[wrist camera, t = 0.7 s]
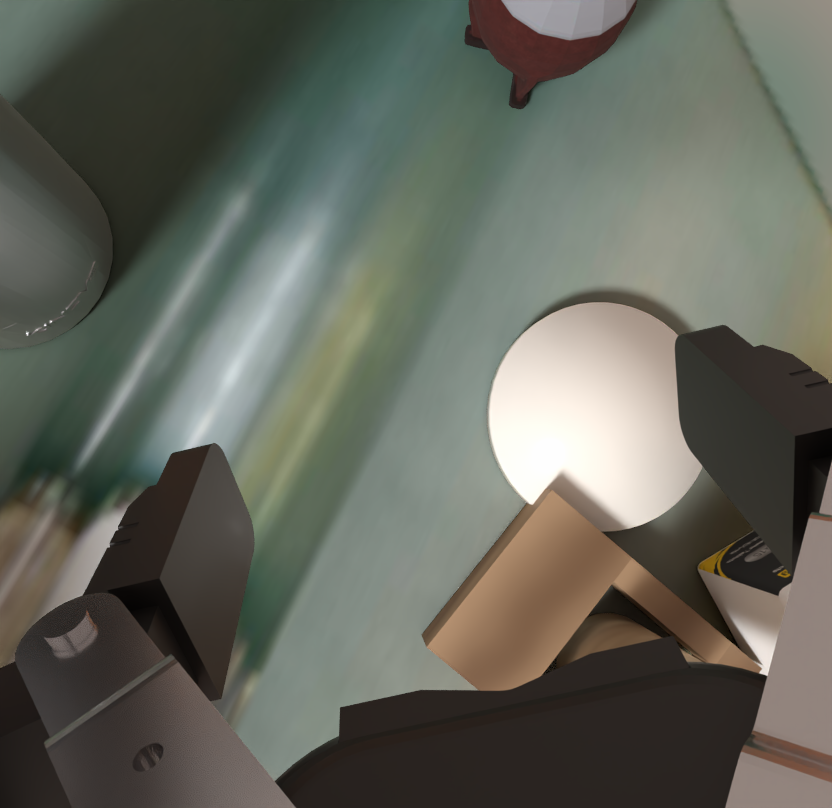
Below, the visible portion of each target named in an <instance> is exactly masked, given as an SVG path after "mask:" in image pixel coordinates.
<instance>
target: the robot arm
mask: <svg viewBox="0 0 832 808" xmlns="http://www.w3.org/2000/svg"><path fill="white" fill-rule="evenodd" d="M112 260H113V237H112V233H111V229H110V225H109V221H108V217H107V215H106V213H105V211H104V209H103V207H102V205H101V203H100V201H99V199H98V197H97V196H96V195H95V194H94V192H93V191H92V190H91V189H90V187H89V186H88V185H87V184H86V182H85V181H84V180H83V179H82V178H81V177H80V176H79V175H78V174H77V173H76V172H75V171H74V170H73V169H72V168H71V167H70V166H69V165H68V164H67V163H66V162H65V161H64V160H63V159H62V158H61V156H60V155H59V154H58V153H57V152H56V151H55V150H54V149H53V148H52V147H51V146H50V145H49V144H48V142H47V141H46V140H45V139H44V138H43V137H42V136H41V135H40V134H39V133H38V132H37V131H36V130H35V129H34V128H33V127H32V126H31V125H30V124H29V123H28V122H27V121H26V120H25V119H24V118H23V117H22V116H21V115H20V114H19V113H18V112H17V111H16V110H15V109H14V108H13V106H12V105H11V104H10V103H9V102H8V101H7V100H6V99H5V98H4V97H3V96H2V95H1V94H0V349H14V348H23V347H31V346H34V345H37V344H40V343H43V342H46V341H49V340H52V339H54V338H56V337H57V336H59V335H61V334H63V333H65V332H66V331H68V330H70V329H71V328H73V327H74V326H75V325H76V324H77V323H78V322H79V321H81V320H82V319H83V318H84V317H85V316H86V315H87V314H88V313H89V312H90V310H91V309H92V308H93V306H94V305H95V304H96V302H97V301H98V300H99V298H100V296H101V294H102V292H103V290H104V288H105V285H106V283H107V281H108V279H109V274H110V269H111V265H112ZM675 363H676V379H677V395H678V410H679V421H680V426H681V430H682V433H683V436H684V439H685V442H686V444H687V446H688V448H689V449H690V451H691V452H692V454H693V455H694V456H695V457H696V458H697V460H698V461H699V462H700V463H701V465H702V466H703V467H704V468H705V470H706V471H707V472H708V473H709V475H710V476H711V477H712V478H713V480H714V481H715V482H716V483H717V485H718V486H719V487H720V488H721V490H722V491H723V492H724V493H725V494H726V496H727V497H728V498H729V499H730V501H731V502H732V503H733V504H734V506H735V507H736V508H737V509H738V511H739V512H740V513H741V514H742V516H743V517H744V518H745V519H746V521H747V522H748V523H749V524H750V525H751V527H752V528H753V529H754V530H755V532H756V533H757V534H758V535H759V537H760V538H761V539H762V540H763V542H764V543H765V544H766V545H767V547H768V548H769V549H770V550H771V552H772V553H773V554H774V555H775V557H776V558H777V559H778V560H779V561H780V563H781V564H782V565H783V566H784V568H785V569H786V570H787V571H788V573H789V574H790V575H791V576H793V580H792V584H791V588H790V592H789V595H788V599H787V603H786V607H785V611H784V615H783V618H782V622H781V626H780V630H779V634H778V638H777V641H776V645H775V649H774V653H773V657H772V661H771V664H770V668H769V672H768V676H766V675H763V674H760V673H756V672H753V671H750V670H746V669H743V668H738V667H733V666H728V665H723V664H715V663H706V662H687V661H686V659H685V657H684V655H683V653H682V652H681V650H680V648H679V646H678V644H677V642H676V640H675V638H674V636H669V637H665V638H660V639H655V640H651V641H646V642H641V643H637V644H632V645H628V646H623V647H618V648H614V649H609V650H604V651H600V652H595V653H590V654H588V655H586V656H584V657H582V658H579V659H577V660H575V661H573V662H571V663H569V664H566V665H564V666H562V667H560V668H558V669H555V670H553V671H551V672H549V673H547V674H545V675H542V676H540V677H538V678H536V679H534V680H532V681H529V682H527V683H525V684H523V685H521V686H518V687H516V688H513V689H509V690H502V691H472V690H419V691H414V692H410V693H405V694H401V695H396V696H391V697H387V698H382V699H377V700H373V701H368V702H364V703H359V704H354V705H350V706H345V707H340V728H339V736H338V737H336V738H334V739H332V740H330V741H328V742H326V743H325V744H323V745H321V746H320V747H318V748H316V749H315V750H313V751H311V752H310V753H308V754H307V755H306V756H304V757H303V758H302V759H300V760H299V761H297V762H296V763H295V764H293V765H292V766H291V767H290V768H289V769H288V770H287V771H286V772H284V773H283V774H282V775H281V776H280V777H279V778H278V779H277V780H276V781H274V780H273V779H272V778H271V776H270V775H269V774H268V773H267V771H266V770H265V769H264V768H263V766H262V765H261V764H260V763H259V762H258V760H257V759H256V758H255V757H254V755H253V754H252V753H251V752H250V750H249V749H248V748H247V747H246V745H245V744H244V743H243V742H242V740H241V739H240V738H239V737H238V735H237V734H236V733H235V732H234V731H233V729H232V728H231V727H230V726H229V724H228V723H227V722H226V721H225V719H224V718H223V717H222V716H221V714H220V713H219V712H218V711H217V709H216V708H215V707H214V706H213V704H212V703H211V702H210V701H213V700H218V699H221V698H222V693H223V689H224V684H225V680H226V675H227V670H228V666H229V661H230V657H231V652H232V648H233V643H234V638H235V634H236V629H237V625H238V620H239V616H240V611H241V606H242V602H243V597H244V593H245V588H246V584H247V579H248V574H249V570H250V565H251V561H252V556H253V552H254V531H253V525H252V521H251V518H250V515H249V512H248V510H247V507H246V505H245V503H244V500H243V498H242V495H241V493H240V491H239V488H238V486H237V483H236V481H235V478H234V476H233V474H232V471H231V469H230V466H229V464H228V462H227V459H226V457H225V455H224V453H223V451H222V449H221V448H220V446H219V445H217V444H215V443H213V444H209V445H204V446H200V447H196V448H192V449H187V450H183V451H179V452H175V453H172V454H171V456H170V458H169V460H168V462H167V464H166V466H165V468H164V470H163V473H162V475H161V477H160V479H159V481H158V483H157V485H154V486H150V487H148V488H147V489H146V490H145V491H144V492H143V493H142V494H141V495H140V496H139V497H138V498H137V499H136V500H135V501H134V502H133V503H132V504H131V505H130V506H129V507H128V508H127V510H126V512H125V514H124V516H123V518H122V520H121V522H120V524H119V526H118V529H119V530H118V531H116V532H115V534H114V536H113V538H112V540H111V542H110V547H109V548H107V549H106V551H105V553H104V555H103V557H102V559H101V561H100V563H99V565H98V567H97V569H96V571H95V573H94V575H93V577H92V579H91V581H90V583H89V585H88V587H87V588H86V590H85V592H84V594H83V596H81V597H78V598H75V599H73V600H70V601H68V602H66V603H64V604H62V605H60V606H58V607H57V608H55V609H54V610H52V611H50V612H49V613H47V614H46V615H45V616H44V617H42V618H41V619H40V620H39V621H38V622H36V623H35V624H34V625H33V626H32V627H31V628H30V629H29V631H28V632H27V633H26V634H25V635H24V637H23V638H22V640H21V641H20V643H19V645H18V647H17V650H16V653H15V662H13V663H11V664H9V665H7V666H4V667H2V668H0V808H832V383H830V384H829V382H828V380H827V379H826V378H825V377H823V376H822V375H820V374H819V373H818V372H816V371H814V372H813V371H812V368H811V367H809V366H808V365H807V364H805V363H804V362H802V361H801V360H800V359H798V358H797V357H795V356H794V355H793V354H790V353H787V352H784V351H781V350H777V349H774V348H771V347H768V346H765V345H760V346H756V347H753V346H752V345H751V344H749V343H748V342H747V341H745V340H744V339H743V338H742V337H740V336H739V335H738V334H736V333H735V332H734V331H733V330H731V329H730V328H729V327H727V326H726V325H720V326H716V327H712V328H707V329H703V330H699V331H695V332H690V333H686V334H682V335H679V336H678V337H677V338H676V341H675Z"/></svg>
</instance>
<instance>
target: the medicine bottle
mask: <svg viewBox="0 0 832 808" xmlns="http://www.w3.org/2000/svg"><path fill="white" fill-rule="evenodd" d="M698 572H699V574H700V575H701V577H702V579H703V581H704V583H705V585H706V587H707V588H708V590H709V592H710V594H711V596H712V598H713V599H714V601H715V603H716V605H717V607H718V609H719V611H720V612H721V614H722V616H723V618H724V620H725V622H726V624H727V625H728V627H729V629H730V631H731V633H732V635H733V637H734V638H735V640H736V642H737V644H738V646H739V648H740V650H741V651H742V652H743V653H744V654H746V655H747V656H748V657H749V658H750V659H751V660H753V661H754V662H755V663H756V664H757V665H758V666H760V667H761V668H762V670H761V671H760V674H763V675H766V676H768V672H769V668H770V664H771V661H772V657H773V653H774V649H775V645H776V641H777V638H778V634H779V630H780V626H781V622H782V618H783V615H784V611H785V607H786V603H787V599H788V595H789V592H790V588H791V584H792V580H793V576H791V575H790V574H789V573H788V571H787V570H786V569H785V568H784V566H783V565H782V564H781V563H780V561H779V560H778V559H777V558H776V557H775V555H774V554H773V553H772V552H771V550H770V549H769V548H768V547H767V545H766V544H765V543H764V542H763V540H762V539H761V538H760V537H759V535H758V534H757V533H756V532H755V530H753V531H752V532H750V533H748V534H747V535H745V536H744V537H742V538H740V539H739V540H737V541H735V542H734V543H732V544H730V545H729V546H727V547H725V548H724V549H722V550H720V551H719V552H717V553H715V554H714V555H712V556H710V557H709V558H707V559H705V560H704V561H702V562H701V563H700V564H699V565H698Z"/></svg>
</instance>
